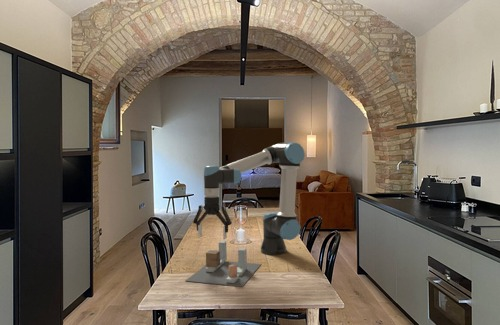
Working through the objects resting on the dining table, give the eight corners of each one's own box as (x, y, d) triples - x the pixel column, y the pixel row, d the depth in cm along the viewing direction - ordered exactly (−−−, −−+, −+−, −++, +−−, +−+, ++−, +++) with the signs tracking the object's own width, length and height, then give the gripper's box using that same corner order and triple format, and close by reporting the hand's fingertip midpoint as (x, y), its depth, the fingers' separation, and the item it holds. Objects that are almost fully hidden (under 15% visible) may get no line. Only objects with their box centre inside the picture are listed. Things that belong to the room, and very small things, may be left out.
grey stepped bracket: (220, 259, 205) (220, 240, 204) (227, 259, 204) (227, 241, 203) (205, 271, 185) (205, 251, 185) (213, 272, 184) (212, 251, 184)
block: (210, 263, 193) (210, 249, 193) (220, 264, 192) (220, 250, 191) (206, 266, 188) (205, 252, 188) (216, 267, 186) (216, 253, 186)
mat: (211, 260, 205) (211, 260, 205) (261, 264, 197) (261, 264, 197) (185, 281, 174) (185, 280, 174) (242, 286, 166) (242, 286, 166)
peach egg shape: (230, 274, 176) (230, 263, 176) (238, 275, 175) (238, 264, 175) (227, 277, 172) (227, 266, 172) (235, 277, 171) (235, 267, 171)
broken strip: (239, 268, 190) (239, 248, 189) (247, 268, 189) (247, 248, 188) (225, 282, 170) (225, 260, 170) (234, 283, 169) (233, 260, 168)
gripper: (186, 196, 188) (186, 238, 189) (232, 198, 181) (233, 241, 182) (192, 194, 196) (193, 234, 196) (237, 196, 188) (238, 237, 189)
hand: (212, 237), depth 189 cm, fingers open, 13 cm apart
